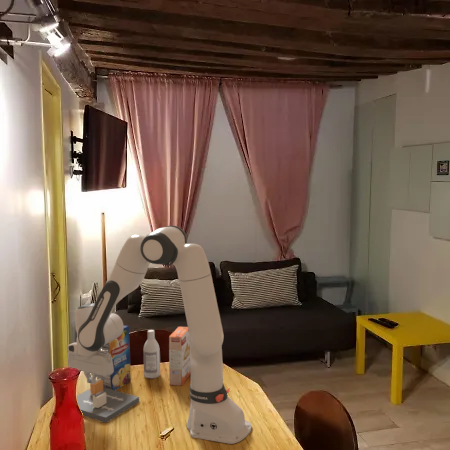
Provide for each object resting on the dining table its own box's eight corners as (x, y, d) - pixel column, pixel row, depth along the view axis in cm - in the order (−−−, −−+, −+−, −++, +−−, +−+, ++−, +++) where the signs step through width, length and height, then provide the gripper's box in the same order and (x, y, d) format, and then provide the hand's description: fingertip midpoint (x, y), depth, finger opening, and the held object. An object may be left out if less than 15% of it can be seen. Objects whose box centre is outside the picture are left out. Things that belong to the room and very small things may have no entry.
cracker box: (183, 386, 199) (182, 337, 197) (169, 385, 201) (167, 336, 198) (192, 373, 213) (191, 326, 211) (178, 372, 214) (177, 325, 212)
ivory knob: (106, 403, 180) (106, 391, 180) (97, 408, 177) (97, 395, 176) (101, 401, 182) (101, 389, 181) (93, 406, 178) (92, 394, 177)
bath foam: (150, 371, 215) (149, 327, 213) (163, 374, 212) (162, 329, 210) (140, 377, 209) (139, 332, 207) (154, 380, 206) (152, 334, 204)
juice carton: (117, 377, 209) (115, 323, 206) (130, 381, 205) (129, 326, 202) (97, 388, 198) (95, 331, 196) (111, 392, 195) (108, 334, 192)
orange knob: (103, 390, 191) (102, 378, 191) (95, 394, 187) (94, 383, 187) (98, 388, 192) (98, 377, 192) (90, 393, 189) (90, 381, 188)
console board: (139, 402, 186) (139, 396, 186) (105, 423, 171) (105, 417, 170) (96, 389, 197) (96, 385, 197) (61, 408, 182) (61, 403, 181)
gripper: (116, 348, 177) (118, 384, 178) (76, 340, 187) (78, 374, 189) (104, 354, 171) (106, 391, 173) (63, 345, 182) (66, 381, 183)
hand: (91, 382), depth 181 cm, fingers closed
